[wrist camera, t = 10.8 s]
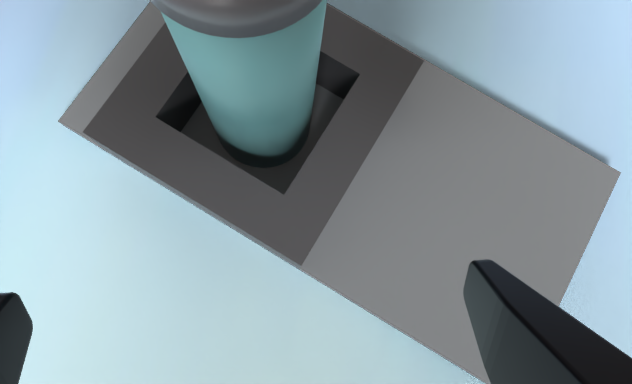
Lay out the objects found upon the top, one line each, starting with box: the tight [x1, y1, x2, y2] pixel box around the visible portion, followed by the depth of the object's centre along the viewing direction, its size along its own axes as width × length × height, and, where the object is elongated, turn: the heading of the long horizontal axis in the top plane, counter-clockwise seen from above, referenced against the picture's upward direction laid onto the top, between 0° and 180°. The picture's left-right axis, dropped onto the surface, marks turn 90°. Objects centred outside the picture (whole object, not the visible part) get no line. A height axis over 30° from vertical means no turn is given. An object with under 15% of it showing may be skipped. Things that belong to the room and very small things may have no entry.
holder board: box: [58, 2, 621, 384], centre depth 21 cm, size 24×12×4 cm, turn 59°
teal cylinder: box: [150, 0, 327, 168], centre depth 16 cm, size 5×5×13 cm
